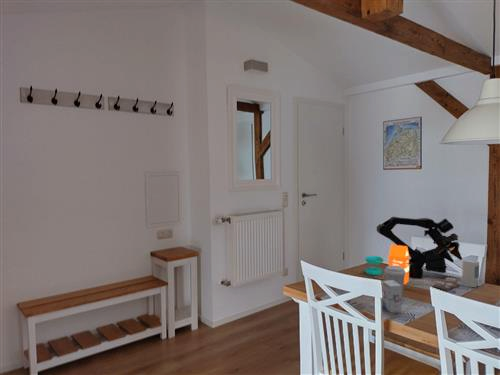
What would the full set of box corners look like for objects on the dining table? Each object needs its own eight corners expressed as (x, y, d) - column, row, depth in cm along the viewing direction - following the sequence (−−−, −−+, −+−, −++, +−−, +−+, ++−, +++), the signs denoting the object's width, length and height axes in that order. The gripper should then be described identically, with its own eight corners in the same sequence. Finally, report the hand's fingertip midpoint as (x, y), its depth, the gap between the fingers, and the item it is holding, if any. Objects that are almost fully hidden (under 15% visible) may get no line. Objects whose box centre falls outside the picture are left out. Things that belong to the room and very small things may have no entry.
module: (462, 284, 197) (462, 260, 197) (466, 283, 199) (467, 259, 199) (474, 288, 192) (475, 263, 191) (478, 286, 194) (479, 262, 194)
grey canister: (379, 298, 176) (380, 267, 175) (391, 294, 182) (391, 264, 181) (398, 304, 168) (398, 271, 168) (409, 299, 174) (409, 268, 174)
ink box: (381, 305, 167) (382, 279, 166) (392, 305, 167) (392, 279, 167) (390, 313, 158) (390, 285, 158) (401, 312, 158) (402, 285, 158)
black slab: (450, 271, 218) (438, 247, 222) (428, 277, 226) (418, 253, 230) (452, 270, 220) (440, 246, 224) (430, 276, 229) (420, 252, 233)
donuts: (386, 258, 216) (372, 259, 213) (386, 275, 216) (372, 276, 213) (376, 254, 225) (361, 256, 222) (376, 271, 226) (361, 272, 223)
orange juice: (405, 284, 198) (405, 247, 198) (388, 281, 204) (388, 245, 203) (408, 281, 205) (409, 245, 204) (392, 278, 210) (392, 243, 209)
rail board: (445, 291, 186) (445, 284, 186) (431, 288, 192) (432, 281, 192) (459, 286, 194) (459, 279, 194) (446, 283, 200) (446, 276, 200)
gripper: (439, 230, 199) (460, 254, 191) (456, 227, 210) (476, 249, 201) (424, 242, 206) (444, 266, 197) (442, 239, 217) (461, 261, 208)
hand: (457, 260), depth 201 cm, fingers open, 9 cm apart
